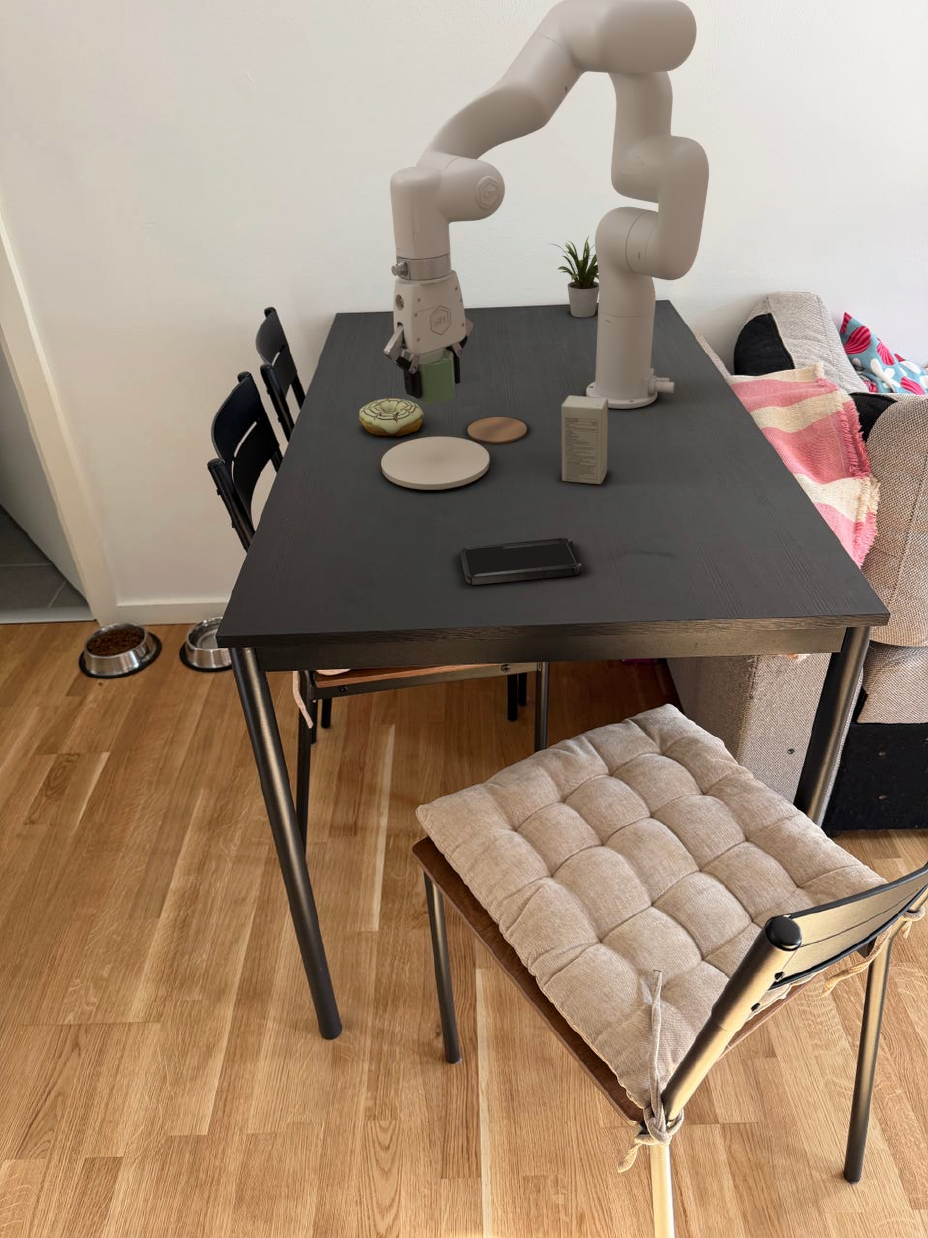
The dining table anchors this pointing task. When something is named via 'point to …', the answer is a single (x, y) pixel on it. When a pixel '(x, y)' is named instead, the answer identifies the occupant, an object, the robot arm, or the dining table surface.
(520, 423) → the coaster
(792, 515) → the dining table surface
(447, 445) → the plate
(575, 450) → the cosmetic box
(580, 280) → the house plant
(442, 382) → the sage green cylinder
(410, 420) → the decorated donut
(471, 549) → the phone
